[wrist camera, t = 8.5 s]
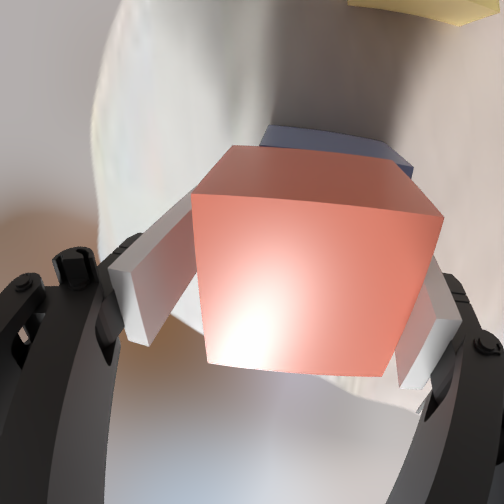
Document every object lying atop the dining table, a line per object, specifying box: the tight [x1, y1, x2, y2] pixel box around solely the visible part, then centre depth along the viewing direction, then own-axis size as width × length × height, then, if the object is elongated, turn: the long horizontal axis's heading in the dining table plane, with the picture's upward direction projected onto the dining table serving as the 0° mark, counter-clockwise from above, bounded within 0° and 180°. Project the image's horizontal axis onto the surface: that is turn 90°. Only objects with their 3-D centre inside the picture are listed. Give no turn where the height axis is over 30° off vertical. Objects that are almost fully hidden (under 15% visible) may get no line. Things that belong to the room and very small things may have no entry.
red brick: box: [191, 145, 444, 377], centre depth 10 cm, size 6×6×5 cm
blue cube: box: [259, 125, 414, 179], centre depth 15 cm, size 6×6×5 cm
